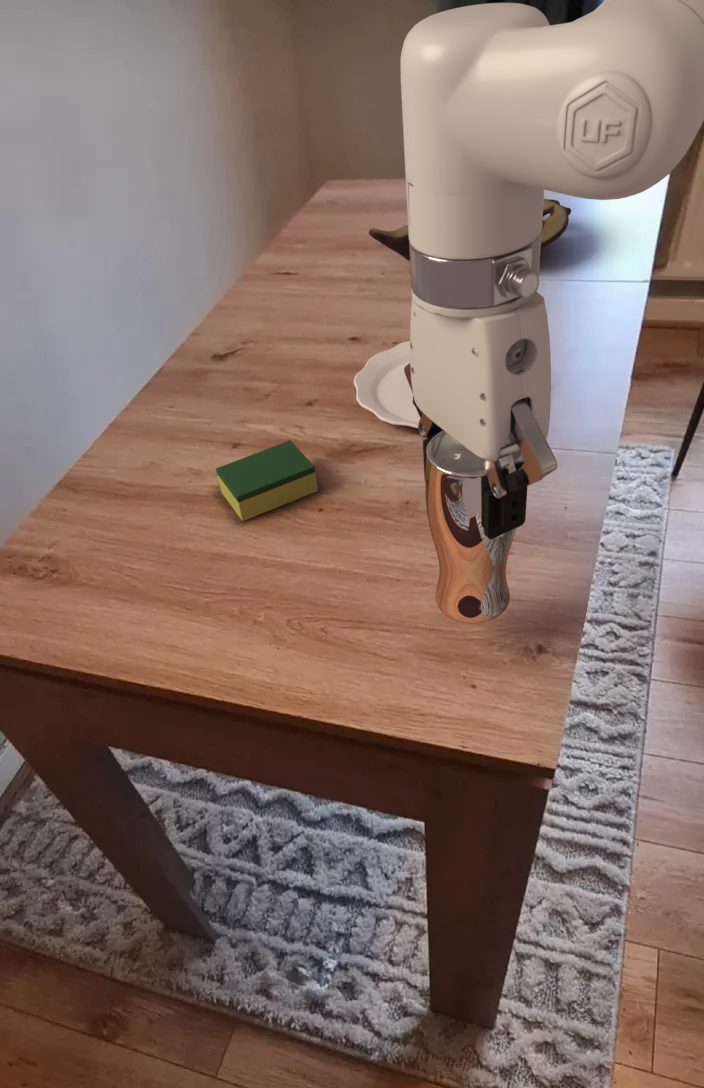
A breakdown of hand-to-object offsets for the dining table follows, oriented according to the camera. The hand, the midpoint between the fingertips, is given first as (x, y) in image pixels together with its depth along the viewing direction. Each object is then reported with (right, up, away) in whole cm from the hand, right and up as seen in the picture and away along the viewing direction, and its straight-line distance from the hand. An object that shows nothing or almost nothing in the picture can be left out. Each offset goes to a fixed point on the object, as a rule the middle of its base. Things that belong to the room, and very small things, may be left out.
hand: (472, 501), depth 59 cm
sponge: (-17, +4, +27) cm, 33 cm away
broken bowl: (+12, +46, +64) cm, 80 cm away
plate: (+3, +18, +38) cm, 42 cm away
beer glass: (+1, -7, +7) cm, 10 cm away
